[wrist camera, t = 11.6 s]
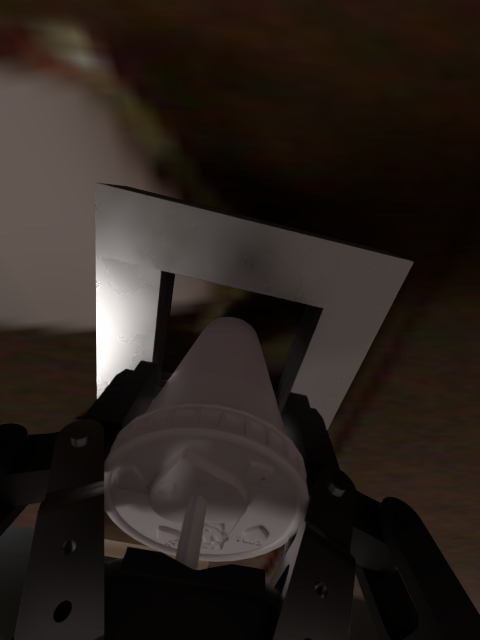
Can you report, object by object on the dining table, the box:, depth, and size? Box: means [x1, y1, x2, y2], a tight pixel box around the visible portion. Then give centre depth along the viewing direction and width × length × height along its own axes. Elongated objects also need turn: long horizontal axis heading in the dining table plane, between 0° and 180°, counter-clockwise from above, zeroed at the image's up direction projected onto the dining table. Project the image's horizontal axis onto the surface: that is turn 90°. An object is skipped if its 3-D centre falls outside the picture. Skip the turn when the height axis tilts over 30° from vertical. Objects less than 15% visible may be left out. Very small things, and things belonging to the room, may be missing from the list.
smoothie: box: [104, 317, 309, 570], centre depth 10 cm, size 6×6×14 cm
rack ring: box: [95, 183, 414, 430], centre depth 16 cm, size 15×15×3 cm
